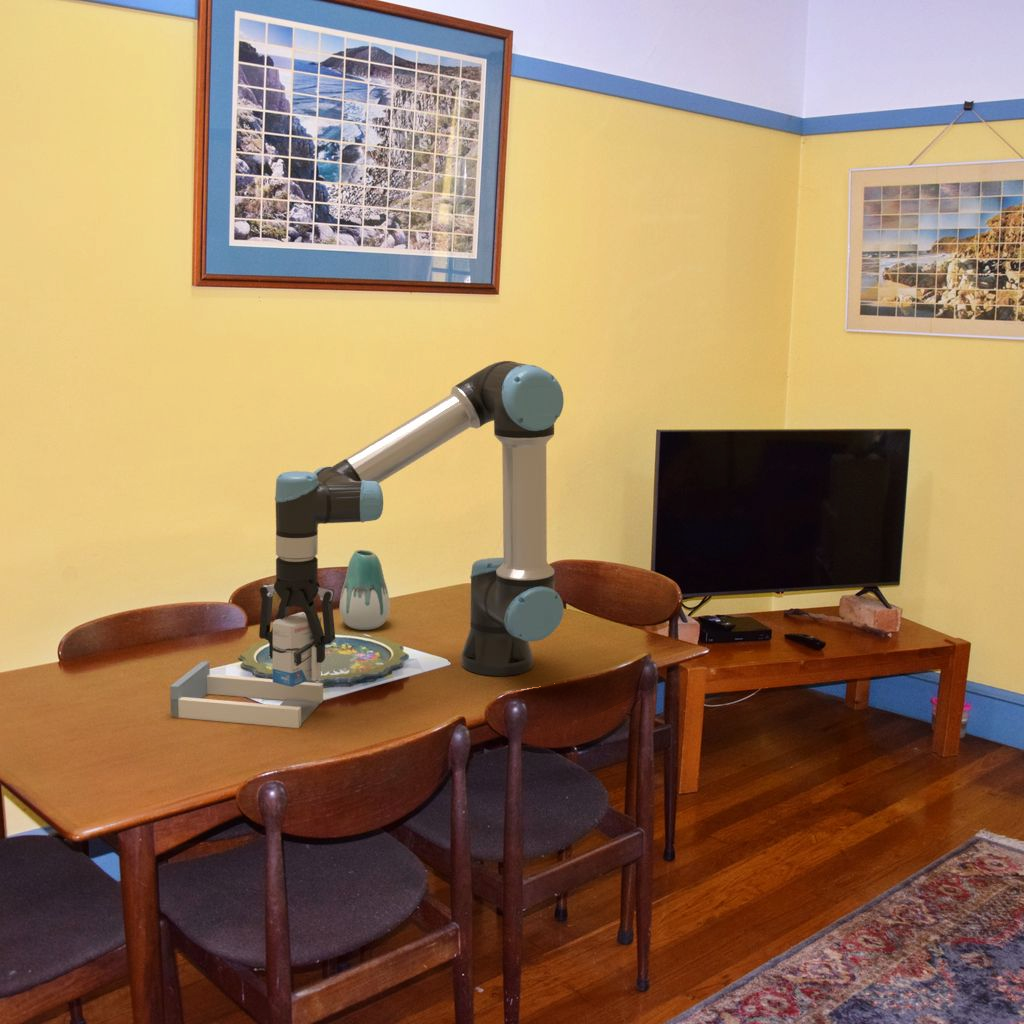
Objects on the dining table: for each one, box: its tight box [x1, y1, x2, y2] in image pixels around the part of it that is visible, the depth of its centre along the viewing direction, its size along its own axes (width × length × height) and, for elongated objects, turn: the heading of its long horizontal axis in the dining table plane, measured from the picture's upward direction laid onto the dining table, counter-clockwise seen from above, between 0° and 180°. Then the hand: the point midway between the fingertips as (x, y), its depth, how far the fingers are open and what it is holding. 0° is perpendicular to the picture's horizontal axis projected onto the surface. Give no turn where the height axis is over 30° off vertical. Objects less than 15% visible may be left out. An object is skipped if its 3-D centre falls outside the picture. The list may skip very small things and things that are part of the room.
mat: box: [279, 700, 321, 725], centre depth 227 cm, size 7×11×1 cm, turn 171°
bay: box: [169, 660, 324, 729], centre depth 227 cm, size 24×14×6 cm, turn 81°
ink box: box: [272, 611, 322, 687], centre depth 224 cm, size 8×5×12 cm, turn 148°
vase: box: [338, 549, 391, 631], centre depth 279 cm, size 12×12×18 cm
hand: (297, 676), depth 225 cm, fingers closed on ink box, 6 cm apart
